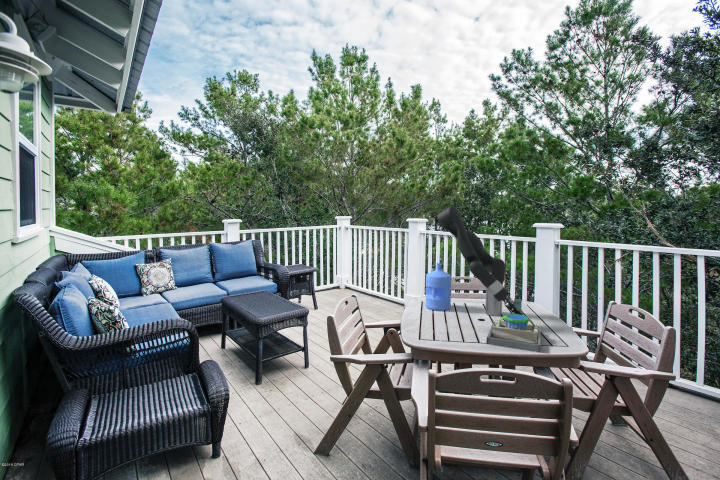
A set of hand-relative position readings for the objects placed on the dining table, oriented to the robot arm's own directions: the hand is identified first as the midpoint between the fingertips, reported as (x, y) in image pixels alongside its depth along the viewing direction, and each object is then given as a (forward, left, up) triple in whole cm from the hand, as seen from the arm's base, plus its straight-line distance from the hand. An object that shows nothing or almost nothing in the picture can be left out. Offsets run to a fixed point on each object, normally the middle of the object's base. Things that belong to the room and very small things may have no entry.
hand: (521, 316), depth 188 cm
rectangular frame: (+17, -2, -6) cm, 19 cm away
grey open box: (+10, -2, -6) cm, 12 cm away
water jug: (-21, -49, -7) cm, 54 cm away
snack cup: (+16, -2, -7) cm, 17 cm away
